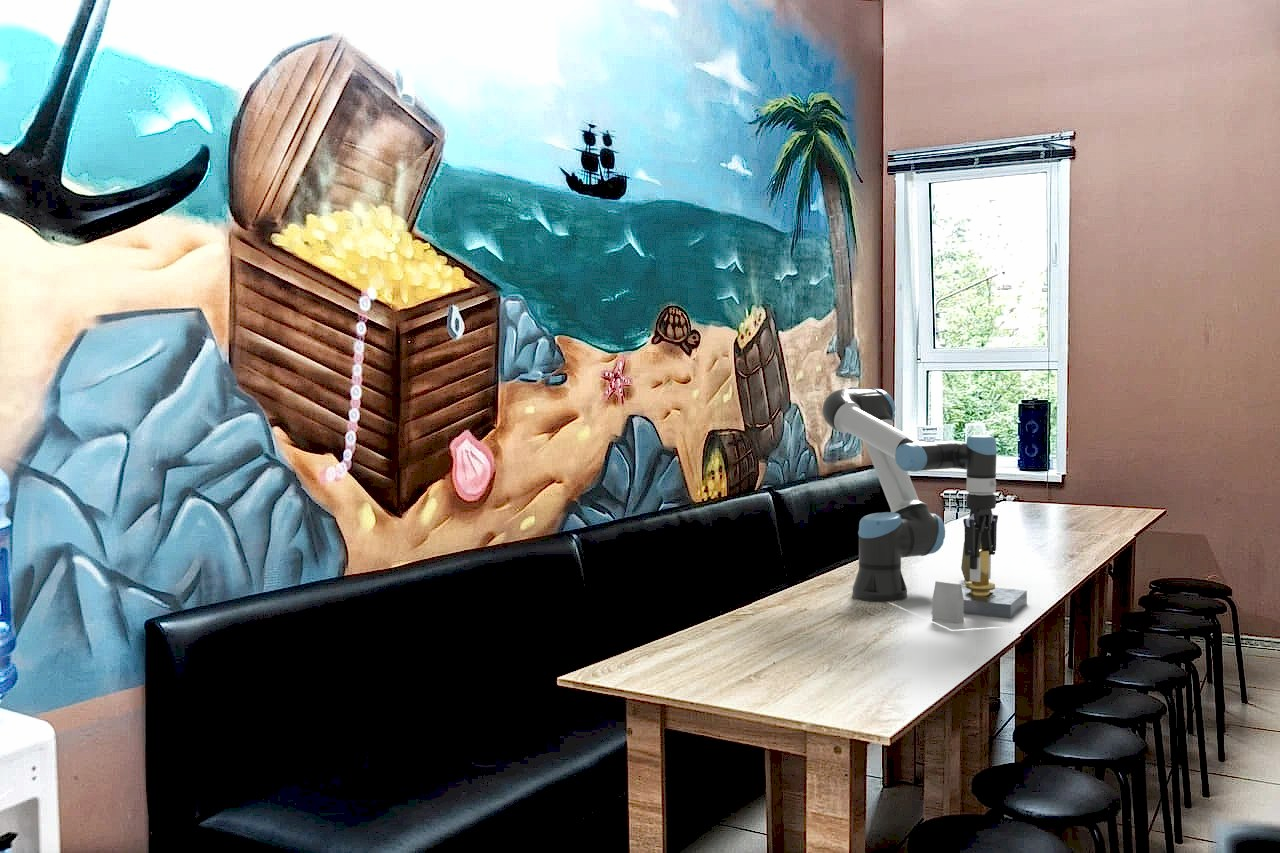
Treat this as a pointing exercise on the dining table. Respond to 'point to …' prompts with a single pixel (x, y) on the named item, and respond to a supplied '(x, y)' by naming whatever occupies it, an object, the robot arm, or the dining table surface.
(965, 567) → the squeeze bottle
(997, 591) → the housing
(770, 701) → the dining table surface
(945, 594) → the tea bag
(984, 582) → the brass door knob
